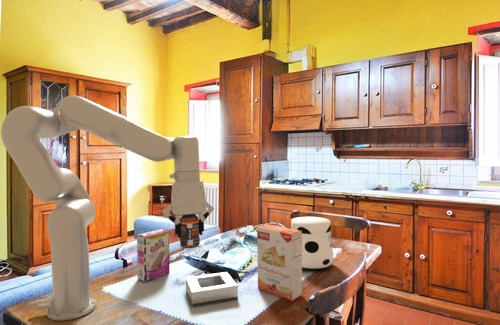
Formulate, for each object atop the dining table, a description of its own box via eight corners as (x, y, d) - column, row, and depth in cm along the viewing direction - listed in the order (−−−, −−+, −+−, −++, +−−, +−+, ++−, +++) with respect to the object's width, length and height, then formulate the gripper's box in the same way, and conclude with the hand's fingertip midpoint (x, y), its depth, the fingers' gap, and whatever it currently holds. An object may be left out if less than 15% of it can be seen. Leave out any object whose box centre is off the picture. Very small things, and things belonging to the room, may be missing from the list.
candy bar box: (145, 283, 115) (144, 236, 114) (137, 280, 117) (135, 234, 117) (170, 273, 124) (169, 230, 123) (162, 270, 127) (161, 228, 126)
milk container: (341, 264, 130) (341, 219, 130) (318, 277, 118) (317, 227, 117) (304, 255, 142) (304, 214, 142) (280, 266, 130) (279, 220, 129)
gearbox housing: (192, 307, 96) (192, 292, 96) (186, 291, 108) (185, 277, 107) (237, 299, 101) (237, 285, 101) (227, 284, 112) (227, 271, 112)
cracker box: (256, 289, 108) (256, 226, 107) (268, 283, 113) (267, 223, 112) (291, 302, 99) (291, 233, 98) (302, 295, 103) (302, 229, 102)
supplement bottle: (195, 249, 97) (194, 211, 97) (177, 249, 99) (175, 211, 98) (202, 243, 103) (201, 208, 103) (185, 243, 104) (183, 207, 104)
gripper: (158, 179, 94) (161, 241, 94) (217, 175, 99) (220, 234, 100) (157, 177, 101) (160, 235, 102) (212, 174, 106) (214, 229, 107)
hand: (189, 234), depth 101 cm, fingers closed on supplement bottle, 5 cm apart
